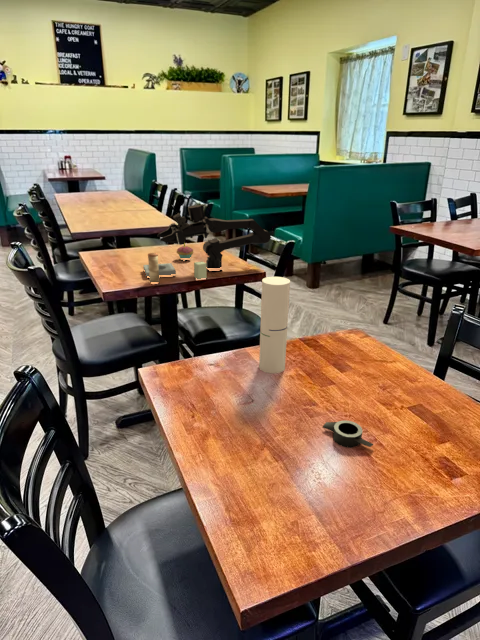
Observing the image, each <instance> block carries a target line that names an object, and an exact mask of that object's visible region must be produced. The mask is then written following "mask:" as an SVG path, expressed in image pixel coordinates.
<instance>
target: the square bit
mask: <svg viewBox="0 0 480 640" xmlns="http://www.w3.org/2000/svg"><path fill="white" fill-rule="evenodd" d="M207 271H208V270H207V269H206V262H204V261H195V262H193V276H194V277H195V278H197V279H201V278H207Z"/></svg>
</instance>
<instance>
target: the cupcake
mask: <svg viewBox="0 0 480 640" xmlns="http://www.w3.org/2000/svg"><path fill="white" fill-rule="evenodd" d="M176 254H178V256H179V259H180V258H190V257H191V258H192V256H193V254H194V249H193V248H192V247H190V246H188V245H186V243H184V244H183V246H179V247H178V248H177V249H176Z"/></svg>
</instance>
